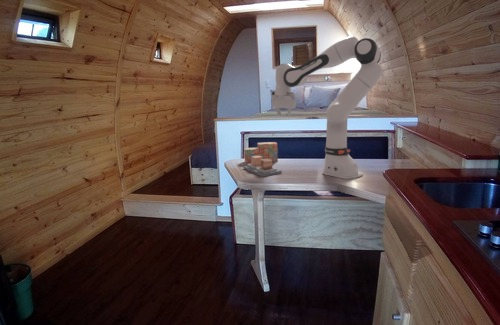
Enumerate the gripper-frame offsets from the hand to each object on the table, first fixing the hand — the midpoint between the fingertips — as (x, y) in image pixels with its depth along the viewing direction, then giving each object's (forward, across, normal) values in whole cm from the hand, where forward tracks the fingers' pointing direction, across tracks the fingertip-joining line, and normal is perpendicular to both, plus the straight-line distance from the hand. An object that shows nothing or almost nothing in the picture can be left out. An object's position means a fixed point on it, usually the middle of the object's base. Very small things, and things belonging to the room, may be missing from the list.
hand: (283, 115), depth 190 cm
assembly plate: (+30, -4, +20) cm, 36 cm away
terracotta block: (+29, -9, +20) cm, 36 cm away
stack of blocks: (+31, +16, +7) cm, 36 cm away
